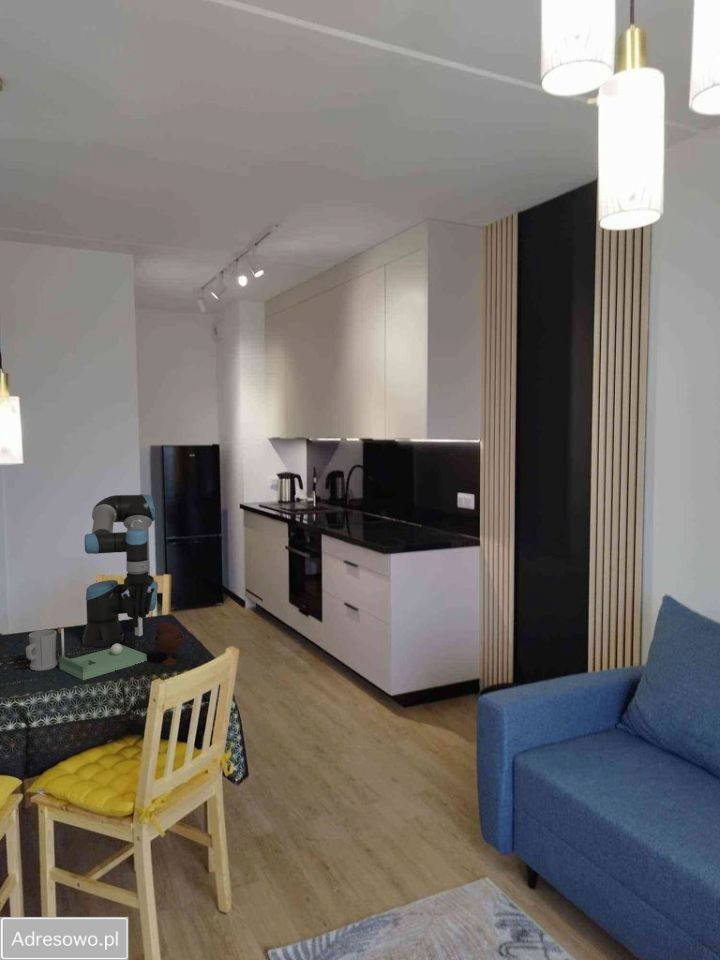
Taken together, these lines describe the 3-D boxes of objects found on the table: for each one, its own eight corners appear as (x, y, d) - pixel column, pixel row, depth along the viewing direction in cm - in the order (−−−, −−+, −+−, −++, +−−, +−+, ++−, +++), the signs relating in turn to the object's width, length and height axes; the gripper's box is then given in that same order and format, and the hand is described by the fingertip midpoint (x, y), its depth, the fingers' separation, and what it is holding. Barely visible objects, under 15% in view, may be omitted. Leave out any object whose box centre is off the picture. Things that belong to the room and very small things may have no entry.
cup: (54, 671, 232) (53, 637, 231) (25, 674, 229) (24, 639, 228) (59, 661, 242) (58, 628, 241) (31, 663, 239) (30, 630, 238)
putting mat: (57, 668, 235) (56, 627, 234) (120, 650, 253) (119, 613, 252) (83, 680, 224) (82, 637, 223) (146, 661, 242) (145, 621, 241)
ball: (108, 654, 242) (108, 643, 241) (118, 651, 245) (118, 641, 244) (114, 657, 239) (114, 646, 239) (124, 654, 242) (124, 643, 242)
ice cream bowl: (168, 670, 233) (167, 628, 232) (146, 664, 239) (145, 623, 238) (191, 661, 242) (190, 620, 241) (169, 656, 248) (169, 616, 247)
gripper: (127, 576, 239) (128, 641, 241) (158, 570, 249) (160, 632, 251) (115, 573, 244) (117, 637, 245) (147, 567, 254) (148, 629, 256)
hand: (138, 635), depth 248 cm, fingers closed
